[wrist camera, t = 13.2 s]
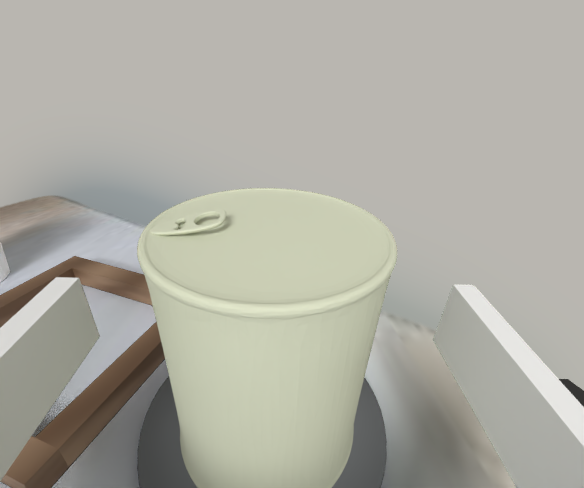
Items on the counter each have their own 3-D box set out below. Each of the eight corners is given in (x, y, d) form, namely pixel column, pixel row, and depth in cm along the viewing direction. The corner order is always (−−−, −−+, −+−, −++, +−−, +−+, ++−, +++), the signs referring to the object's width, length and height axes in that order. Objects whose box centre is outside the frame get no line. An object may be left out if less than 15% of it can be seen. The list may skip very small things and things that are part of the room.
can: (194, 354, 20) (166, 177, 15) (330, 344, 22) (354, 177, 16) (161, 536, 12) (72, 305, 7) (379, 504, 14) (464, 287, 8)
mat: (73, 503, 14) (69, 497, 13) (222, 316, 25) (222, 310, 24) (369, 666, 10) (372, 661, 10) (391, 365, 21) (393, 358, 21)
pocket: (-144, 399, 17) (-162, 380, 17) (79, 270, 29) (74, 256, 28) (37, 502, 14) (23, 484, 13) (209, 307, 25) (208, 292, 25)
